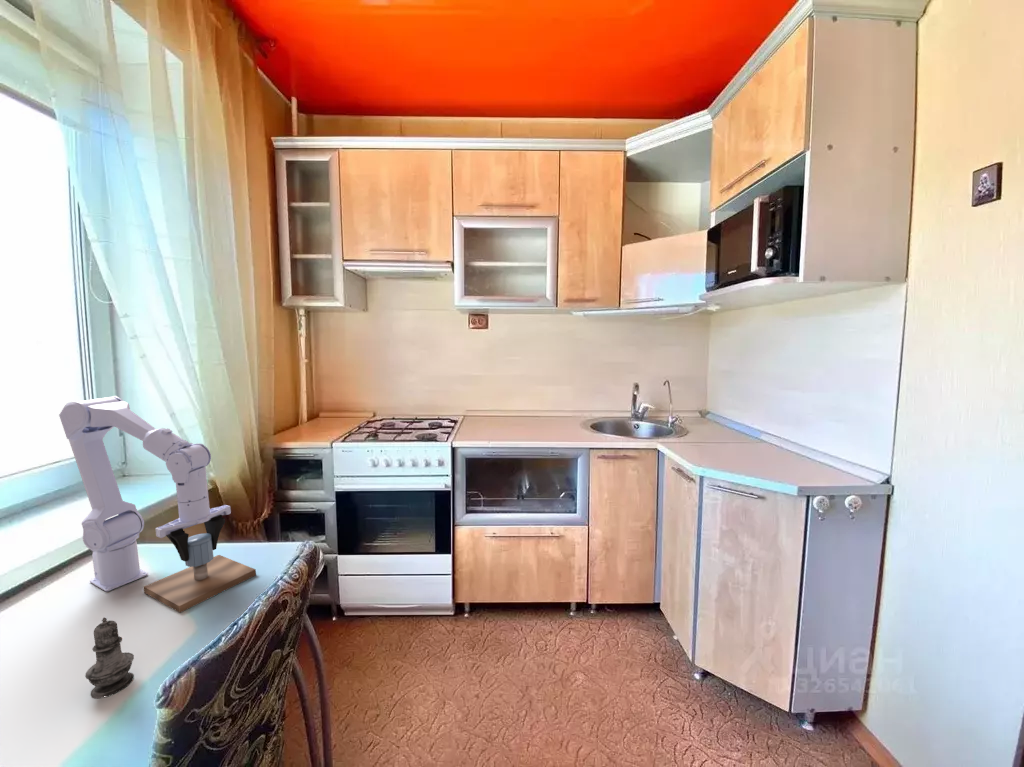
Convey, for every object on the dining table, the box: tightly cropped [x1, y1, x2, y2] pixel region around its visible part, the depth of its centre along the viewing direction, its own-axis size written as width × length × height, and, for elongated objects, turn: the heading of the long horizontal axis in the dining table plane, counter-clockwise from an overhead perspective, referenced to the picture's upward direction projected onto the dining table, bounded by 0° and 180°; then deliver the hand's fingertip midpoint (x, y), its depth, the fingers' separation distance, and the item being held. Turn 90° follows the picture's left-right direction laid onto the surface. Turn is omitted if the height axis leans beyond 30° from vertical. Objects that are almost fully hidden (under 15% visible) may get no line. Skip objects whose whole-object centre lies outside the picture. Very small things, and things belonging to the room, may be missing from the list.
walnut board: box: [143, 554, 257, 613], centre depth 100 cm, size 16×16×4 cm
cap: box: [184, 532, 215, 568], centre depth 100 cm, size 5×5×6 cm
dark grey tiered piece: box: [84, 616, 135, 699], centre depth 70 cm, size 6×6×12 cm
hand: (198, 554), depth 100 cm, fingers closed on cap, 5 cm apart
